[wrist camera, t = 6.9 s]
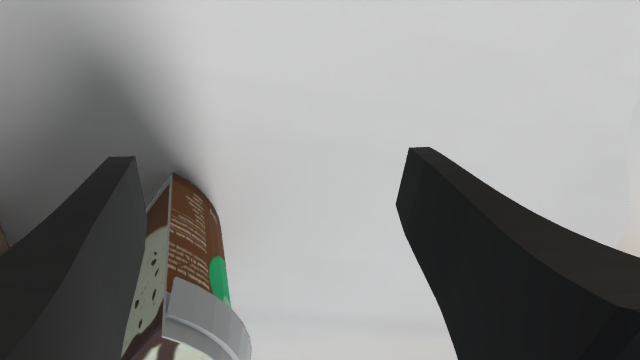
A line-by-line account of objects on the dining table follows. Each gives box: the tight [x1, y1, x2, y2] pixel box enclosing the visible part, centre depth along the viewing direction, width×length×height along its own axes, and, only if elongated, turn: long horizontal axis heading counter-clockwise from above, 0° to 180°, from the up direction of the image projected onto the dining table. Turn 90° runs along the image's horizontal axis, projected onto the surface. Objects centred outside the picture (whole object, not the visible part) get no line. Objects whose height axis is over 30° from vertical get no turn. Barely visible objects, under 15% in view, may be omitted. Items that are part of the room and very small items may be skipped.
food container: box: [121, 172, 252, 360], centre depth 22 cm, size 12×6×10 cm, turn 140°
